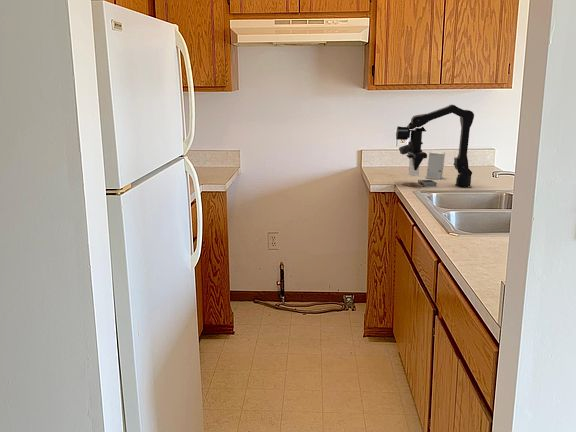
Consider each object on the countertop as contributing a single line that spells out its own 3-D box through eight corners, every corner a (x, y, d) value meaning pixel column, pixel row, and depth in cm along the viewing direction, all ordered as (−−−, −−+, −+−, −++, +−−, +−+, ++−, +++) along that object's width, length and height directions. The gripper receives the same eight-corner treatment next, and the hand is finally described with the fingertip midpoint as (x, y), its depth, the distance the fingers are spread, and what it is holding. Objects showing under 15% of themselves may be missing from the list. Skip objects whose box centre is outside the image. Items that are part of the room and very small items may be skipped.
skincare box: (426, 178, 319) (428, 152, 315) (428, 176, 324) (430, 151, 320) (441, 179, 315) (443, 153, 312) (443, 178, 321) (445, 152, 317)
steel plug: (415, 174, 300) (416, 157, 298) (418, 175, 296) (419, 158, 294) (408, 174, 299) (409, 157, 297) (411, 175, 295) (412, 158, 293)
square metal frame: (430, 183, 305) (430, 179, 304) (436, 186, 297) (436, 182, 296) (417, 183, 304) (418, 179, 303) (423, 186, 296) (423, 182, 295)
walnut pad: (416, 183, 303) (416, 182, 303) (421, 186, 296) (421, 184, 296) (404, 183, 302) (404, 182, 302) (408, 186, 295) (408, 185, 295)
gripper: (395, 138, 301) (393, 166, 305) (407, 142, 283) (405, 172, 287) (415, 137, 302) (413, 166, 306) (428, 142, 285) (426, 172, 288)
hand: (414, 169), depth 297 cm, fingers closed on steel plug, 4 cm apart
